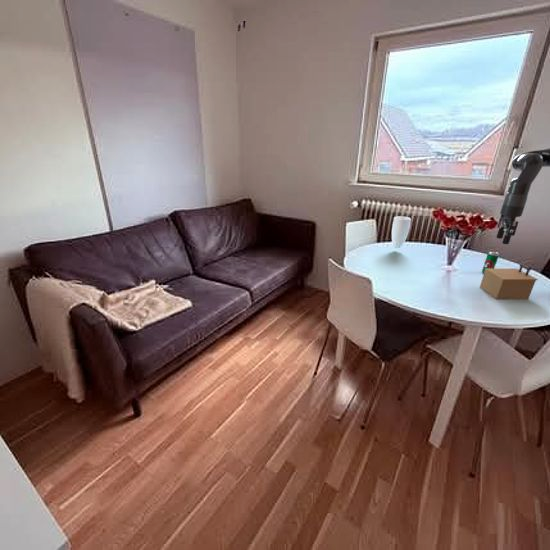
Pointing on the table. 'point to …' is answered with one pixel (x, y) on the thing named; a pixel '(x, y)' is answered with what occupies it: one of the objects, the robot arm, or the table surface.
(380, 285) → the table surface
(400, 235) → the white vase
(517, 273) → the flap
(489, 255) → the soda can
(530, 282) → the carton
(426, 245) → the table surface
